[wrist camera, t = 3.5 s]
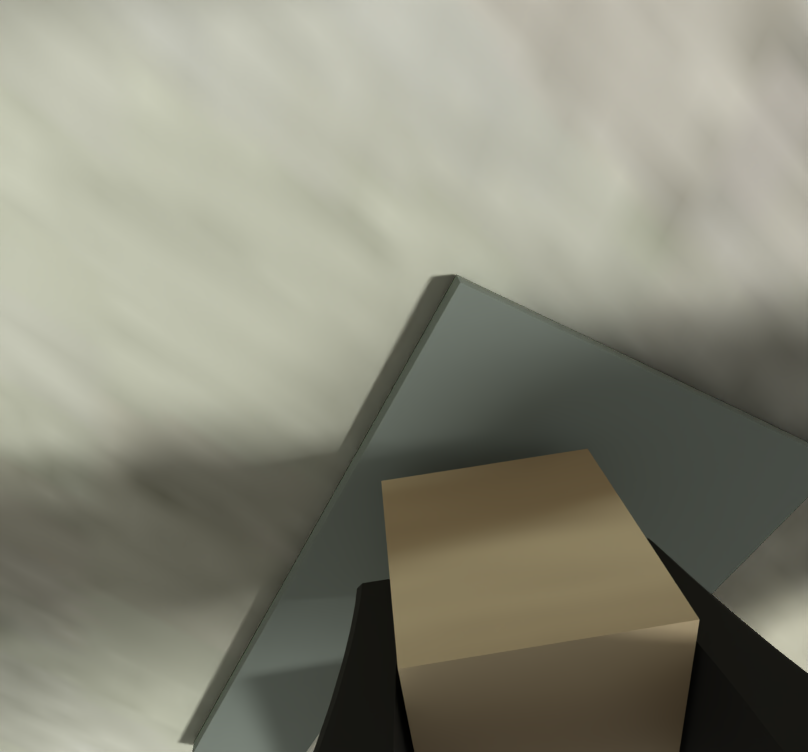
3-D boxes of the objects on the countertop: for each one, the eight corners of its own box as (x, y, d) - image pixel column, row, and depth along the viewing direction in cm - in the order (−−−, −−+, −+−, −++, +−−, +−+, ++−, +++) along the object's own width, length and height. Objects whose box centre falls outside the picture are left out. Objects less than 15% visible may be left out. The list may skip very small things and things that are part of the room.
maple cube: (380, 480, 11) (397, 668, 8) (587, 448, 11) (699, 620, 8) (407, 624, 13) (430, 831, 9) (584, 596, 13) (673, 789, 10)
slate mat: (456, 274, 11) (461, 284, 10) (860, 467, 14) (877, 480, 13) (194, 741, 16) (190, 760, 16) (522, 800, 20) (526, 816, 19)
